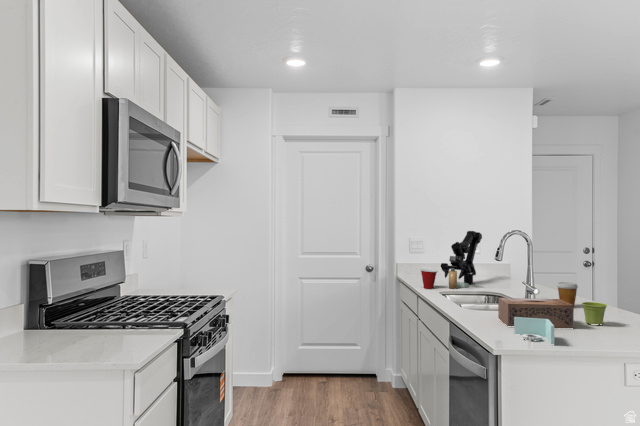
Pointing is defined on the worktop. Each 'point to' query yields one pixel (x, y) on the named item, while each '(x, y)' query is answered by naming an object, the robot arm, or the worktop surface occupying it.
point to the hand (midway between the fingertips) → (452, 278)
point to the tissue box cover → (536, 310)
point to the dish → (461, 285)
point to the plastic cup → (428, 278)
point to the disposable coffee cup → (567, 292)
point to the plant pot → (594, 312)
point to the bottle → (452, 279)
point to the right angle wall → (534, 328)
